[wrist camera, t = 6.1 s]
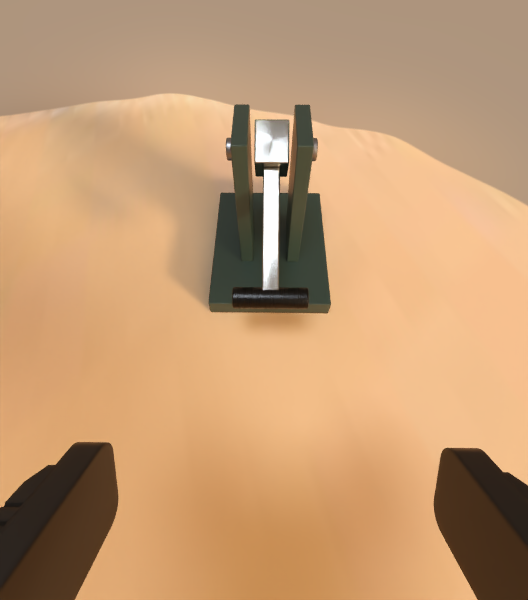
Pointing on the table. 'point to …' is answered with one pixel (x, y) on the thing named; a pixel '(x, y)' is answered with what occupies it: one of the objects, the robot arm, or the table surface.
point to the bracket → (249, 223)
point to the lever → (271, 222)
